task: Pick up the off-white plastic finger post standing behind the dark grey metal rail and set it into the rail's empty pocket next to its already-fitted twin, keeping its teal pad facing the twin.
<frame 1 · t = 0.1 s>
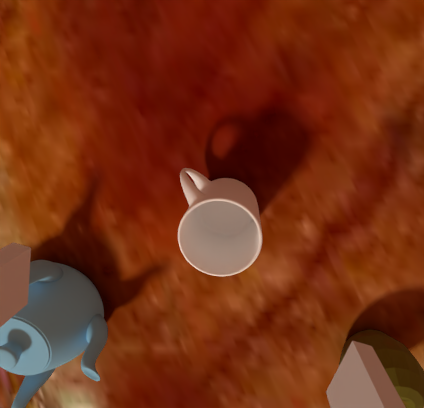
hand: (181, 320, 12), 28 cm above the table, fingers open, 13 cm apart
mug: (218, 197, 39), on the table
teapot: (69, 301, 47), on the table
olive green ball: (364, 343, 43), on the table
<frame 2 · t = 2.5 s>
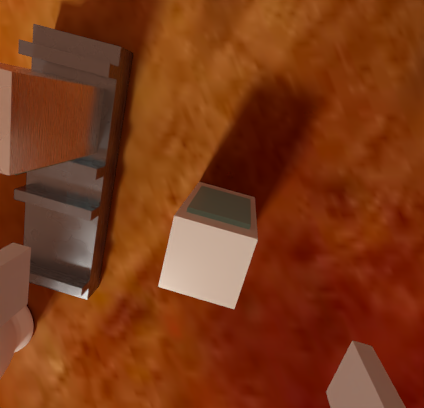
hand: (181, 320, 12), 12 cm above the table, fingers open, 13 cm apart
rail: (78, 175, 24), on the table
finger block: (219, 215, 23), on the table
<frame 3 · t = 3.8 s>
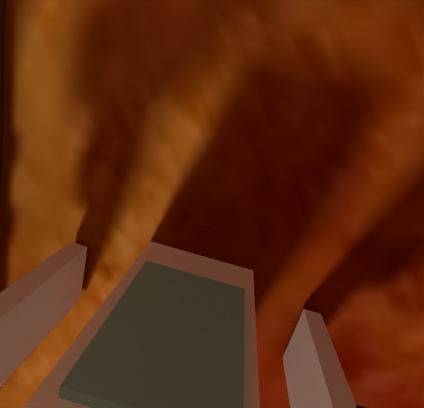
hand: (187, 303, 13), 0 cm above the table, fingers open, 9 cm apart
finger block: (189, 299, 13), on the table
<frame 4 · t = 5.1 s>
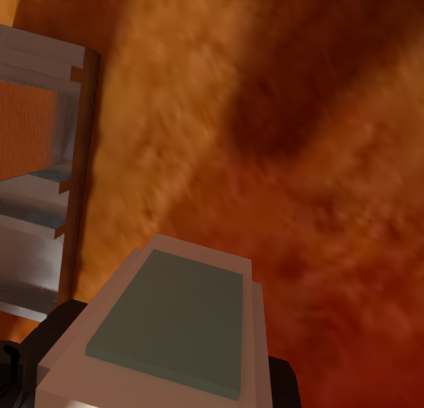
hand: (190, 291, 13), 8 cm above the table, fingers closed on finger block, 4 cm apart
rail: (43, 188, 21), on the table
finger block: (192, 287, 14), point 8 cm above the table, touching gripper
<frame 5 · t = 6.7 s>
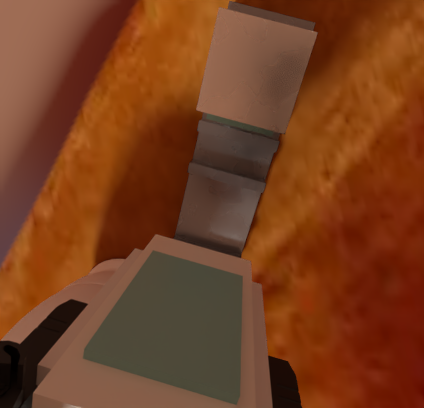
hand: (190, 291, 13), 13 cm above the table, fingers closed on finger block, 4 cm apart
jar: (125, 292, 30), on the table
rail: (233, 152, 25), on the table
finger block: (192, 288, 14), point 13 cm above the table, touching gripper
when the fingers open (3 cm above the table, at t = 8.6 s): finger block stays where it is, resting on rail.
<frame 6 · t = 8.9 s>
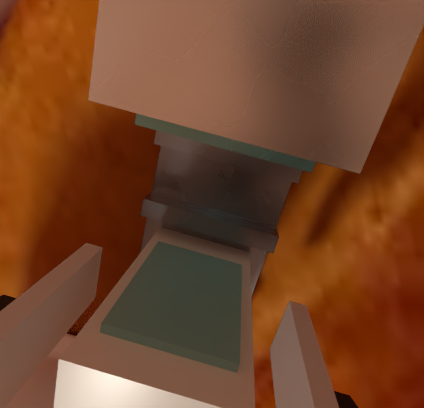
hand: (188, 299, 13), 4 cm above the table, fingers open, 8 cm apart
jar: (67, 375, 21), on the table
rail: (223, 176, 15), on the table
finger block: (194, 278, 15), point 2 cm above the table, touching rail
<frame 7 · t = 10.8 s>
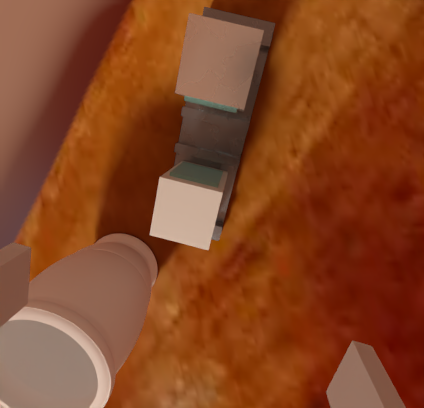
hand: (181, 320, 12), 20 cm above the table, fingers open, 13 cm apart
jar: (124, 264, 34), on the table
rail: (214, 135, 29), on the table
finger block: (200, 188, 28), point 2 cm above the table, touching rail
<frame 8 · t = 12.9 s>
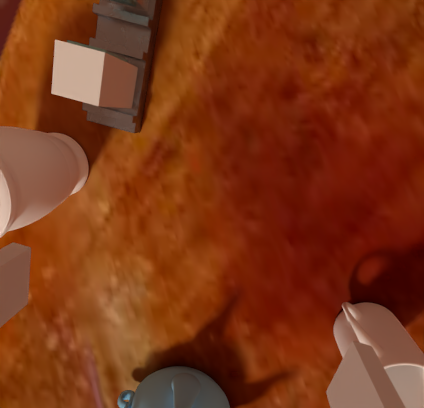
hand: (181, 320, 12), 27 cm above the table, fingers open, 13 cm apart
jar: (61, 164, 39), on the table
mug: (356, 316, 41), on the table
rail: (129, 39, 33), on the table
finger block: (116, 83, 33), point 2 cm above the table, touching rail
teapot: (189, 398, 49), on the table
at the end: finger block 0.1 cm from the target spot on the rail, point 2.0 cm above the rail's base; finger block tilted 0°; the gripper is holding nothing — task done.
